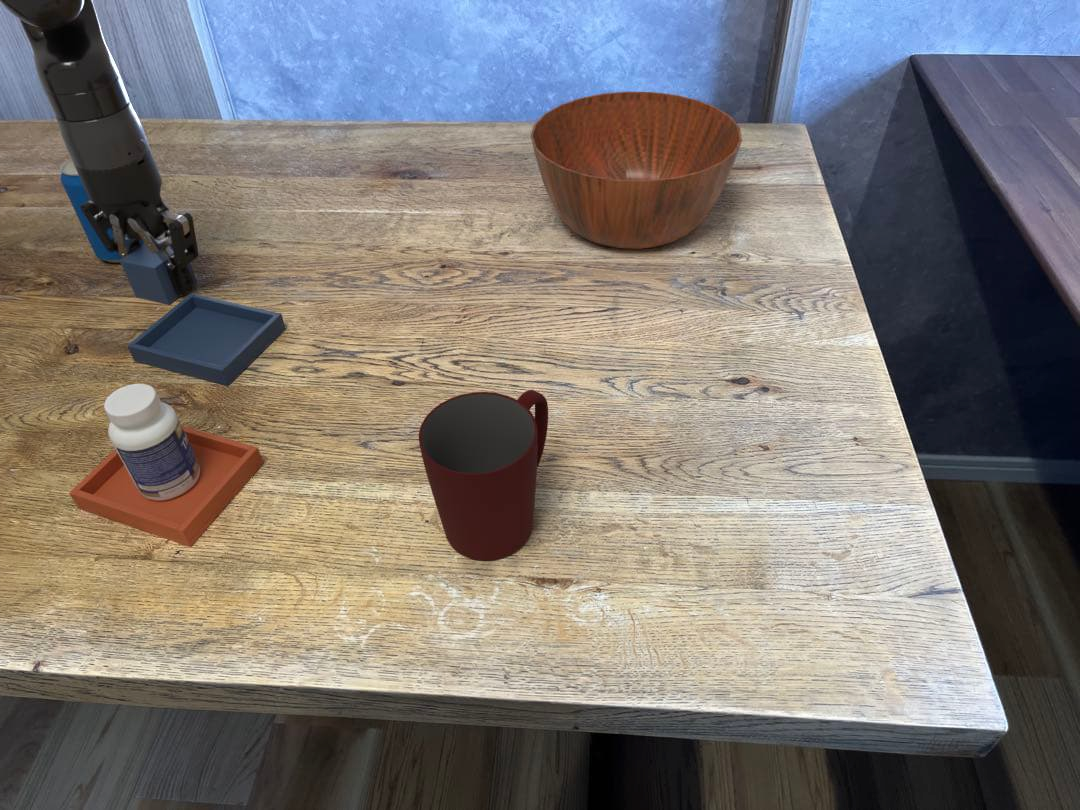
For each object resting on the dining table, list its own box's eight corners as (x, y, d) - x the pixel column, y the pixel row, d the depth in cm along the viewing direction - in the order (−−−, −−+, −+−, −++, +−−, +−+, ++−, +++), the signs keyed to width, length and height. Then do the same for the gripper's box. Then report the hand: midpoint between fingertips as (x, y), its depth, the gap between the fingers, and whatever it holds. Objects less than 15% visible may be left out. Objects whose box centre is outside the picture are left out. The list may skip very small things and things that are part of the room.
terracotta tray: (78, 508, 71) (68, 492, 70) (158, 432, 78) (150, 416, 77) (190, 547, 68) (182, 531, 66) (264, 463, 75) (257, 447, 73)
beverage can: (144, 233, 106) (108, 145, 98) (157, 254, 102) (120, 165, 94) (92, 249, 104) (51, 160, 96) (103, 271, 100) (61, 181, 92)
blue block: (135, 297, 95) (119, 260, 92) (164, 274, 99) (150, 238, 95) (169, 305, 94) (154, 268, 91) (198, 282, 97) (184, 245, 94)
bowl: (684, 292, 92) (694, 200, 85) (497, 240, 102) (490, 154, 94) (757, 196, 108) (770, 111, 100) (589, 159, 118) (589, 79, 110)
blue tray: (134, 361, 86) (126, 345, 85) (196, 307, 93) (190, 292, 92) (228, 386, 83) (222, 370, 81) (286, 328, 90) (281, 313, 88)
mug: (508, 451, 75) (500, 357, 67) (585, 496, 70) (586, 401, 63) (414, 532, 68) (393, 438, 61) (493, 587, 64) (481, 493, 56)
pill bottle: (213, 478, 73) (176, 397, 66) (156, 513, 70) (111, 431, 63) (184, 449, 75) (146, 368, 69) (128, 481, 73) (83, 400, 66)
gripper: (30, 156, 84) (96, 293, 96) (139, 176, 80) (194, 316, 92) (84, 127, 89) (140, 260, 101) (189, 144, 85) (236, 281, 97)
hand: (166, 286), depth 96 cm, fingers closed on blue block, 5 cm apart
